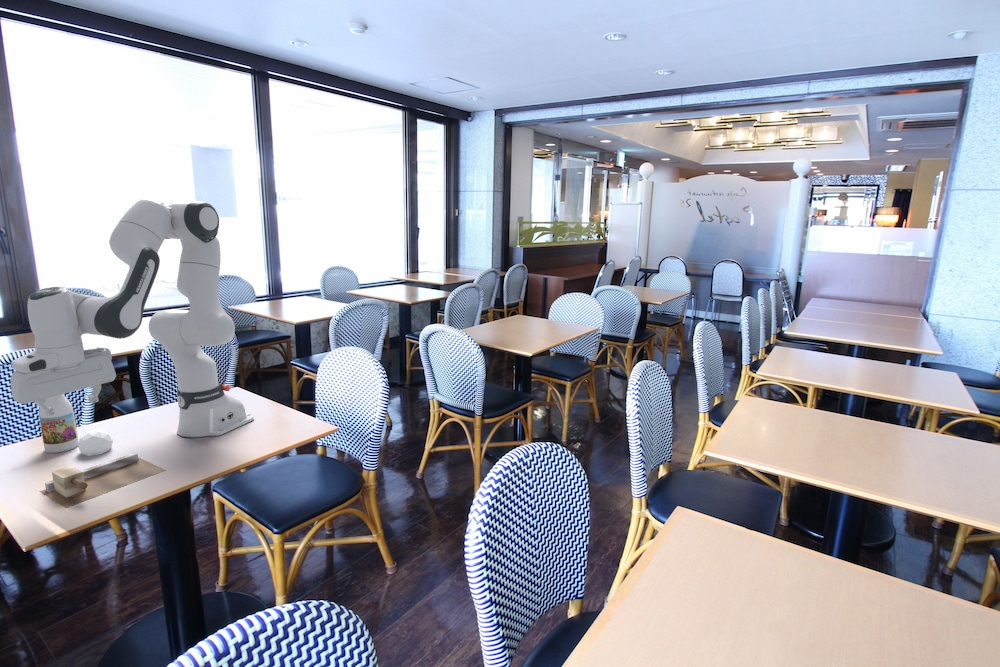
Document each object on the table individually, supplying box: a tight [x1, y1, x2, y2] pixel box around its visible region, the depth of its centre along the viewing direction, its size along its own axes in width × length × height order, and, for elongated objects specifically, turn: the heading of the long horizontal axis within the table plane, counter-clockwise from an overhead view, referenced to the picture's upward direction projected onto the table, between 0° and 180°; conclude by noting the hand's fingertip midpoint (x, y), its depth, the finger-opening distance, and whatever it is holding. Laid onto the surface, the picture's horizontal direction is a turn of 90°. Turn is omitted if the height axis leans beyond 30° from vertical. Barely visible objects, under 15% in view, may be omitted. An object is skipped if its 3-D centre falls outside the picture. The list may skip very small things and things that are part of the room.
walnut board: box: [39, 452, 167, 509], centre depth 132 cm, size 22×14×4 cm, turn 150°
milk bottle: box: [38, 394, 79, 454], centre depth 151 cm, size 8×8×20 cm
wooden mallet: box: [51, 465, 88, 498], centre depth 125 cm, size 4×11×5 cm, turn 60°
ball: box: [77, 428, 114, 457], centre depth 148 cm, size 8×8×8 cm
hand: (72, 408), depth 130 cm, fingers open, 8 cm apart
